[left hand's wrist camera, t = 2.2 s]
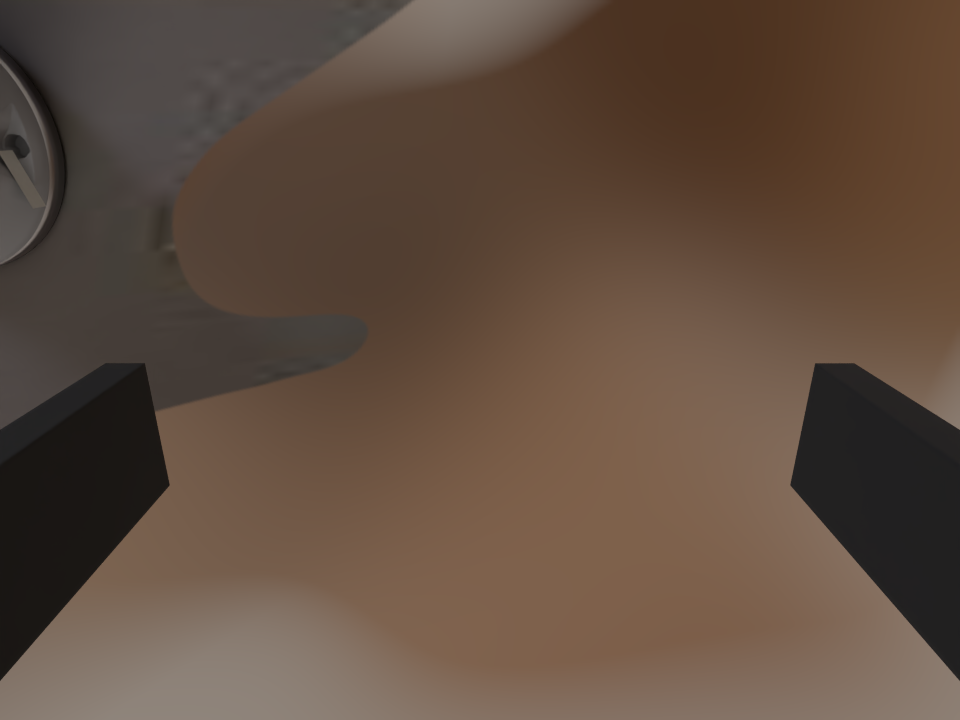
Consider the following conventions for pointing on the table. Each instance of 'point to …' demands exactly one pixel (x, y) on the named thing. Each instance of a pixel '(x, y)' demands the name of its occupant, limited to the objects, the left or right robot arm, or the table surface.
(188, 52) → the table surface
